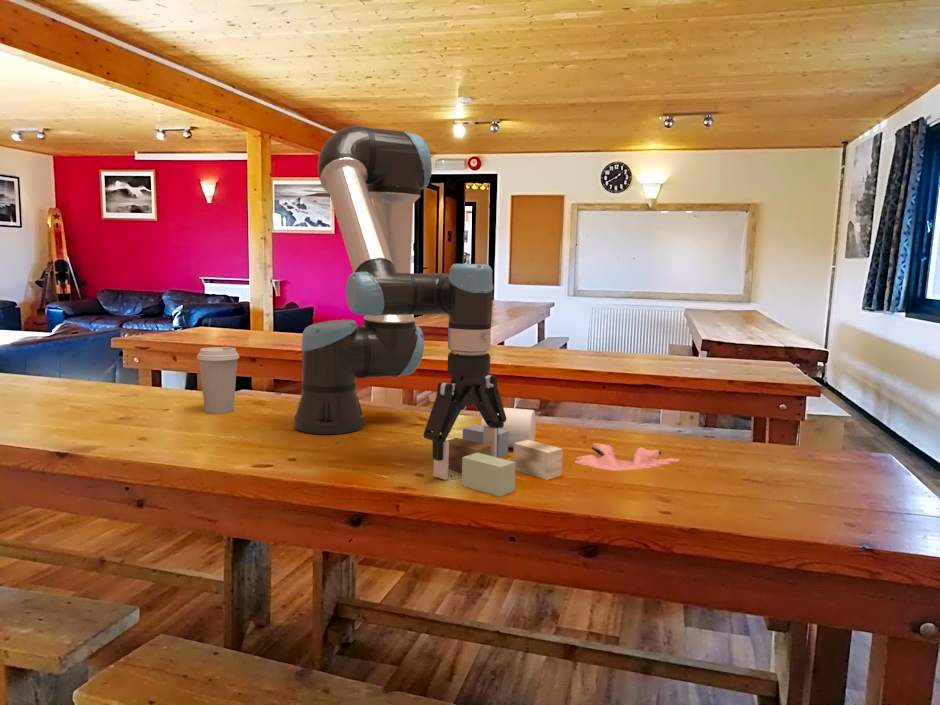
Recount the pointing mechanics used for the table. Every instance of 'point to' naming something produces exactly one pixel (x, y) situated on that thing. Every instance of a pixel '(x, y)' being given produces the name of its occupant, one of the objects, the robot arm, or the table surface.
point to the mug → (518, 425)
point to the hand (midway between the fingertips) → (466, 469)
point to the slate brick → (476, 435)
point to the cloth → (609, 461)
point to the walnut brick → (464, 452)
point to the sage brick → (488, 474)
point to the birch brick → (538, 459)
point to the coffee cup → (218, 378)
